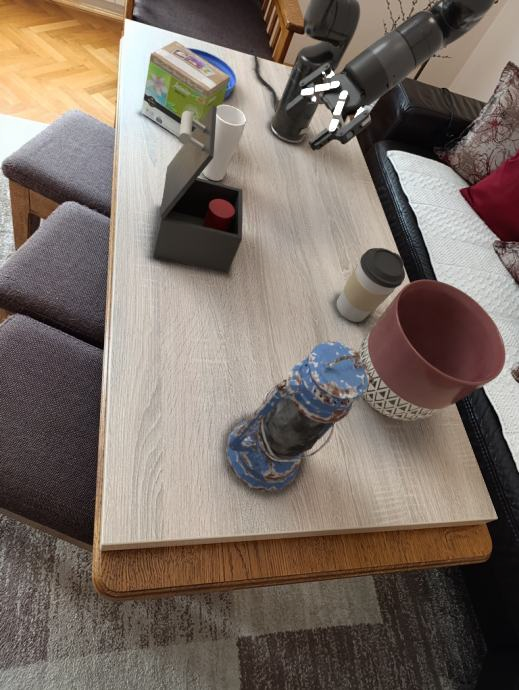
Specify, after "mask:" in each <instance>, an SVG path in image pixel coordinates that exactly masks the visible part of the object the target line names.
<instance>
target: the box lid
mask: <svg viewBox="0 0 519 690" xmlns="http://www.w3.org/2000/svg"><path fill="white" fill-rule="evenodd" d="M216 113H217V107H216V106H214V105H213V106H212V107H211V108H210V110H209V111H208V112H207V114H206V115H205V116H204V118H203V119H202V120H201V122H200V123H199V122H198V121H196V120H195V119H193V114H192V113H191V112H189V111H185V112H183V113H182V118H181V126H180V133H179V137H178V139H179V141H180V142H181V143H183V145H182V146H181V147H180V149H179V150H178V152H177V153H176V154H175V155H174V157H173V158H172V159H171V161H170V162H169V163H168V165H167V166H166V172H165V179H164V186H163V194H162V198H163V199H162V198H161V203H162V206H161V205H160V207H161V213H160V212H159V213H160V217H162V218H163V219H164V218H165V217H166V215H167V214H168V213H169V212H170V211H171V209H172V208H173V207H174V206H175V204H176V203H177V202H178V201H179V199H180V198H181V197H182V196H183V195H184V193H185V192H186V191H187V190H188V188H189V187H190V186H191V185H192V184H193V182H194V181H195V180H196V179H197V178H199V176H200V175H201V174H202V171H203V170H204V169H205V168H206V166H207V165H208V164H209V163H210V161H211V160H212V159H213V158H214V143H215V128H216ZM192 125H194V126H195V127H196V129H195V130H194V131H193V133H192V134H191V131H192Z"/></svg>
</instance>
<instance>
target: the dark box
mask: <svg viewBox="0 0 519 690" xmlns="http://www.w3.org/2000/svg"><path fill="white" fill-rule="evenodd" d="M243 194H244V190H243V189H242V188H239V187H236V186H231V185H228V184H224V183H220V182H217V181H213V180H209V179H204V178H201V177H197V179H196V180H195V181H194V182H193V184H192V185H191V186H190V187H189V188H188V190H187V191H186V192H185V193H184V195H183V196H182V197H181V198H180V199H179V201H178V202H177V203H176V204H175V206H174V207H173V208H172V209H171V211H170V212H169V213H168V214H167V215H166V217H165V218H164V219H163V218H162V217H160V213H161V206H162V202H161V203H160V206H159V207H160V208H159V212H158V213H159V214H158V221H157V228H156V234H155V240H154V246H153V247H154V248H153V253H152V257H153V258H154V259H158V260H163V261H169V262H173V263H177V264H180V265H181V264H182V265H186V266H191V267H196V268H199V269H200V268H201V269H205V270H209V271H215V272H219V273H222V274H223V273H224V274H229V272H230V270H231V267H232V264H233V262H234V259H235V257H236V254H237V253H238V250H239V247H240V246H241V243H242V240H243V211H244V210H243V209H244V208H243V207H244V206H243V205H244V203H243V202H244V201H243V200H244V196H243ZM162 199H163V197H162V198H161V200H162ZM214 199H222V200H225V201H227V202H229V203H230V204H231V205H232V206H233V207H234V210H235V213H234V216H233V218H232V221H231V224H230V226H229V229H228V232H224V231H220V230H216V229H212V228H207V227H203V226H202V225H203V222H204V219H205V216H206V213H207V210H208V206H209V203H210V202H211V201H212V200H214Z"/></svg>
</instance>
